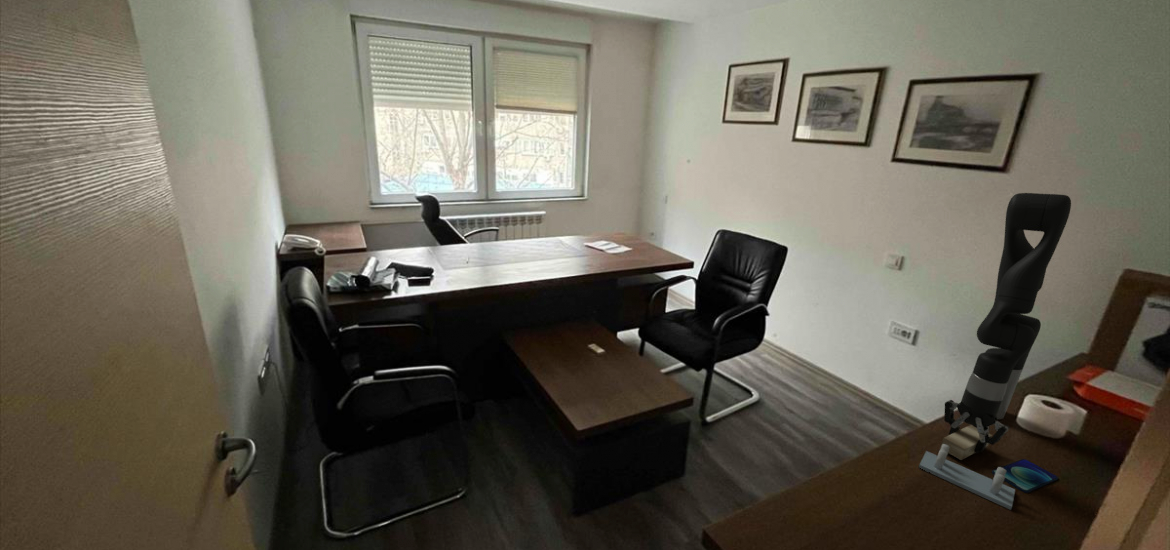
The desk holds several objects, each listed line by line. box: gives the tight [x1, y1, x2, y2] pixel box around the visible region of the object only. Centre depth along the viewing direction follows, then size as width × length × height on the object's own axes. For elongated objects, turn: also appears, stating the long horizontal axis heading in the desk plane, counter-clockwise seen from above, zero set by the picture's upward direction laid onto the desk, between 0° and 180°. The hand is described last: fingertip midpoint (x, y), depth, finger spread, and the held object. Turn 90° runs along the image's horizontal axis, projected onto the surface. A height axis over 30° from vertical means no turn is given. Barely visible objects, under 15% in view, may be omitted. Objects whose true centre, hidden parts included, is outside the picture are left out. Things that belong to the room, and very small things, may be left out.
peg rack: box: [918, 443, 1016, 511], centre depth 113 cm, size 18×8×6 cm, turn 44°
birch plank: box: [939, 424, 993, 461], centre depth 124 cm, size 14×5×4 cm, turn 116°
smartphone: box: [991, 458, 1059, 494], centre depth 116 cm, size 8×1×15 cm
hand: (965, 444), depth 124 cm, fingers closed on birch plank, 5 cm apart
